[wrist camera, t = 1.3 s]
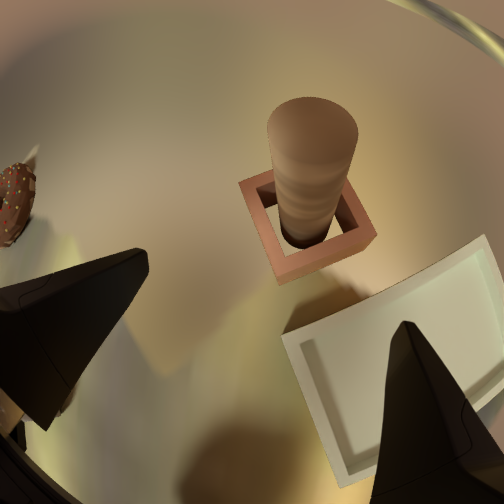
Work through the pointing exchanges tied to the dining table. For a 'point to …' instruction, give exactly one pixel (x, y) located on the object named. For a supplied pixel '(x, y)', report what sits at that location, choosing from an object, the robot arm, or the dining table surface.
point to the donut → (15, 201)
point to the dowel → (309, 165)
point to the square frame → (318, 256)
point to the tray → (378, 345)
